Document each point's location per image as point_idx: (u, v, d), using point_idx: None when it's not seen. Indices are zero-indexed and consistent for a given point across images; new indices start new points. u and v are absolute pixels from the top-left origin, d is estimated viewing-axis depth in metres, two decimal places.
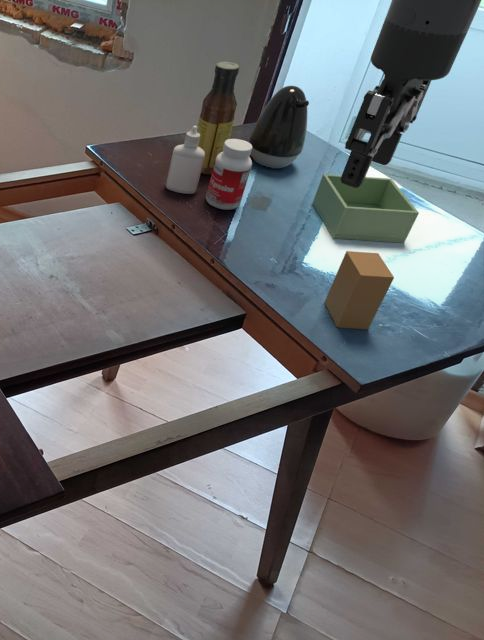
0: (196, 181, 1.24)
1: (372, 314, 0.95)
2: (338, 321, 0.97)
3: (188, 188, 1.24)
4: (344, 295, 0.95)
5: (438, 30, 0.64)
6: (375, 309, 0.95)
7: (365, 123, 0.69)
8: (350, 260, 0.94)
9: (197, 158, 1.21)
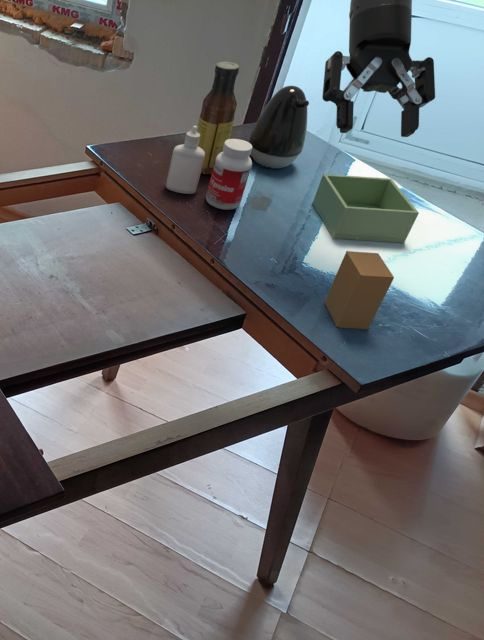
0: (196, 181, 1.24)
1: (372, 314, 0.95)
2: (338, 321, 0.97)
3: (188, 188, 1.24)
4: (344, 295, 0.95)
5: (365, 7, 0.91)
6: (375, 309, 0.95)
7: (327, 75, 0.93)
8: (350, 260, 0.94)
9: (197, 158, 1.21)
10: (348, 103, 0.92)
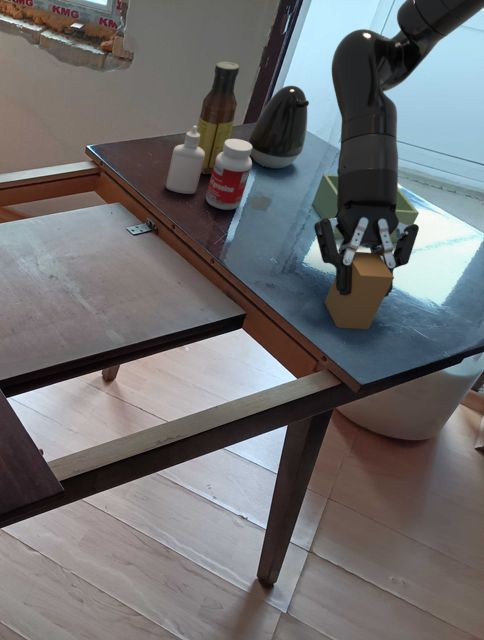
0: (196, 181, 1.24)
1: (372, 314, 0.95)
2: (338, 322, 0.97)
3: (188, 188, 1.24)
4: (344, 295, 0.95)
5: (352, 168, 0.94)
6: (375, 309, 0.95)
7: (321, 241, 0.95)
8: None
9: (197, 158, 1.21)
10: (347, 268, 0.94)
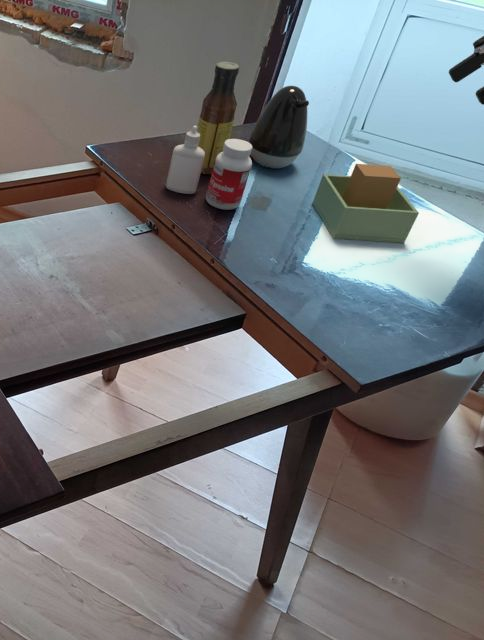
0: (196, 181, 1.24)
1: None
2: None
3: (188, 188, 1.24)
4: None
5: None
6: (351, 204, 1.16)
7: None
8: (378, 166, 1.16)
9: (197, 158, 1.21)
10: (472, 55, 0.99)
